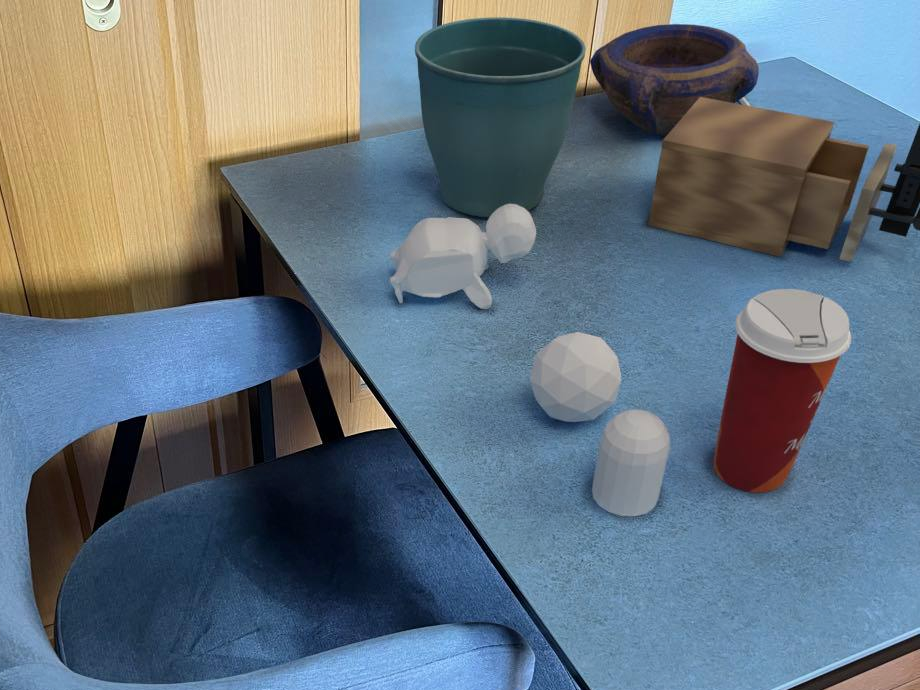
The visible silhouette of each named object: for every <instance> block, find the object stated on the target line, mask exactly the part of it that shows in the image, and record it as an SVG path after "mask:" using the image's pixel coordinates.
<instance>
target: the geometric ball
mask: <svg viewBox="0 0 920 690" xmlns="http://www.w3.org/2000/svg"><path fill="white" fill-rule="evenodd" d="M619 362H620V361H619V357H618V355H617V354H616V353H615V352H614V351H613V349H611V347H610V346H609V345H608V344H607V342H606V341H605V340H604V338H602V336H601V337H600V336H597V335H592V334H587V333H583V332H579V331H576V332H571V333H567V334H562V335H558V336H555V338H553V339H552V340H551V341H549V342H548V343H547V344H546V345H545V346H543V348H541V349H540V350H538V352H536V353H535V357H534V360H533V365H532V370H531V373H530V377H529V383H530V386H531V389H532V393H533V395H534V399H535V400H536V402H537V403H538V404H539V406H540V407H541V409H543V411H545V413H546V414H547V415H548V416H549V417H550V418H552V419H555V420H558V421H563V422H569V423H578V422H587V421H595V420H596V419H597V418H598V417H599V416H600V415H601V414H603V413H604V412H605V411H607V410H608V409H609V408H610V407H611V406H612V405H614V404H615V403H616V401H617V397H618V394H619V390H620V386H621V384H622V373H621V367H620V363H619Z"/></svg>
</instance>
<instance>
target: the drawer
mask: <svg viewBox="0 0 920 690" xmlns="http://www.w3.org/2000/svg"><path fill="white" fill-rule="evenodd" d="M897 147H898V145H897V144H893V143H887V142H885V144H884V146H883V147H882V149H881V151H880V153H879V155H878V157H877V159H876V161H875V163H874V165H873V167H872V169H871V170H870V172H869V174H868V176H867V178H866V180H865V182H864V184H863V186H862V188H861V191H860V195H859V197H858V201H857V204H856V206H855V210H854V212H853V216H852V218H851V221H850V224H849V228H848V231H847V234H846V237H845V240H844V244H843V246H842V249H841V252H840V254H839V255H840V256H839V260H840V261H845V262H849V263H852V261H853V258H854V256H855V255H856V252H857V251H858V249H859V246H860V244H861V243H862V239H863V238H864V236H865V234H866V232H867V230H868V228H869V226H870V223H871V222H872V220H873V217H878V218H882V219H883V218H886V219H891V220H896V221H900V222H905V223H910V224H911V225H912V227H913V228H914V230H917V231H920V207H918V209H917V211H916V214H915V216H910V215H905V214H901V213H896V212H891V211H886V209H882V208H877V205H878V203H879V200H880V198H881V195H882V192H884V193H890V194H892V193H893V191H894V188H895V185H894V184H893V185H892V184H888V183H886V180H887V177H888V175H889V171H890V168H891V165H892V162H893V159H894V156H895V154H896V150H897ZM869 148H870V145H869V144H863V143H858V142H852V141H849V140H844V139H843V140H842V139H837V138H832V137H830V138H827V139H826V141H825V142H824V144H823V146H822V147H821V149H820V151H819V152H818V154H817V156H816V157H815V159H814V160H813V162H812V164H811V165H810V167H809V169H808V170H807V172H806V174H805V177H804V180H803V184H802V187H801V191H800V195H799V198H798V202H797V205H796V209H795V212H794V216H793V219H792V223H791V226H790V230H789V233H788V237H787V240H789V241H790V242H794V243H798V244H803V245H807V246H811V247H815V248H819V249H823V250H824V249H825V250H829V249H830V246H831V245H832V243H833V241H834V239H835V237H836V235H837V233H838V231H839V230H840V227H841V226H842V223H843V222H844V220H845V217H847V214H848V212H849V211H850V207H851V204H852V201H853V199H854V195H855V192H856V188H857V185H858V182H859V180H860V177H861V174H862V170H863V168H864V167H863V166H864V164H865V161H866V158H867V155H868V151H869V150H870V149H869Z"/></svg>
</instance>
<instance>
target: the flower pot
mask: <svg viewBox="0 0 920 690" xmlns="http://www.w3.org/2000/svg"><path fill="white" fill-rule="evenodd" d="M586 50H587V48H586V44H585V42H584V41H583V40H582V38H581V37H579V35H577V34H575V32H572V31H570V30H569V29H566V28H564V27H561V26H559V25H556V24H552V23H549V22H545V21H539V20H534V19H529V18H520V17H519V18H518V17H502V16H501V17H499V16H498V17H496V16H495V17H494V16H493V17H491V16H490V17H476V18H475V17H474V18H467V19H461V20H456V21H455V20H454V21H450V22H448V23H447V22H446V23H444V24H443V23H442V24H441V25H438V26H435V27H433V28H430V29H429V30H427V31H425V32H424V33H422V34H421V35H420V36H419V37H418V38H417V40H416V41H415V44H414V54H415V58H417V61H416V63H417V75H418V76H417V77H418V82H419V95H420V96H419V97H420V109H421V118H422V125H423V131H424V135H425V139H426V142H427V146H428V149H429V152H430V155H431V158H432V160H433V164H434V167H435V170H436V174H437V178H438V181H439V195H440V197H441V199H442V201H443V202H444V203H445V204H446V205H447V206H448V207H450V208H452V209H453V210H454V211H457V212H459V213H462V214H466V215H469V216H474V217H480V218H482V217H483V218H490V216H491V215H492V213H493V212H495V210H497V209H498V208H500V207H501V206H503V205H506V204H517V205H518V206H521V207H523V208H525V209H526V210H527V211H528V212H529V211H530V210H532V209H534V208H535V207H536V206H538V205H539V204H540V202H541V201H542V199H543V196H544V188H545V184H546V182H547V179H548V177H549V175H550V172H551V170H552V168H553V166H554V164H555V162H556V159H557V157H558V155H559V153H560V150H561V148H562V146H563V144H564V141H565V139H566V135H567V132H568V129H569V126H570V121H571V117H572V114H573V107H574V102H575V99H576V92H577V86H578V83H579V80H580V74H581V70H582V69H581V68H582V63H583V61H584V59H585V56H586Z"/></svg>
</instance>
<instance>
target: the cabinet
mask: <svg viewBox="0 0 920 690" xmlns="http://www.w3.org/2000/svg"><path fill="white" fill-rule="evenodd" d="M834 127H835V121H832V120H827V119H823V118H822V119H821V118H815V117H812V116H811V117H810V116H805V115H800V114H794V113H789V112H785V111H784V112H783V111H778V110H773V109H766V108H762V107H757V106H752V105H751V106H746V105H742V104H741V103H737V102H736V103H730V102H725V101H719V100H714V99H709V98H703V97H700V98H699V99H698V100H697V101H696V102H695V103H694V105H693V106H692V107H691V108H690V109H689V110H688V112H687V113H686V114H685V115H684V116H683V117H682V119H681V120H680V121H679V122H678V123H677V124H676V126H675V127H674V128H673V129H672V130H671V131H670V133H669V134H668V135H667V136H665V137H664V138H663V139H662V143H661V149H660V154H659V161H658V165H657V172H656V177H655V183H654V187H653V188H654V189H653V194H652V199H651V206H650V210H649V216H648V222H647V226H648V227H653V228H656V229H660V230H665V231H669V232H673V233H678V234H682V235H685V236H691V237H695V238H699V239H702V240H707V241H712V242H715V243H720V244H724V245H728V246H732V247H735V248H736V247H737V248H741V249H745V250H749V251H754V252H758V253H762V254H765V255H771V256H775V257H779V258H781V257H782V255H783V254H784V252H785V250H786V249H787V247H788V245H789V244H790V242H791V241H789V240H787V237H788V233H789V230H790V226H791V223H792V219H793V216H794V212H795V209H796V205H797V202H798V198H799V195H800V191H801V187H802V184H803V180H804V177H805V174H806V172H807V170H808V169H809V167H810V165H811V164H812V162H813V160H814V159H815V157H816V156H817V154H818V152H819V151H820V149H821V147H822V146H823V144H824V142H825V141H826V139H827V138H831V136H832V132H833V128H834Z"/></svg>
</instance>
